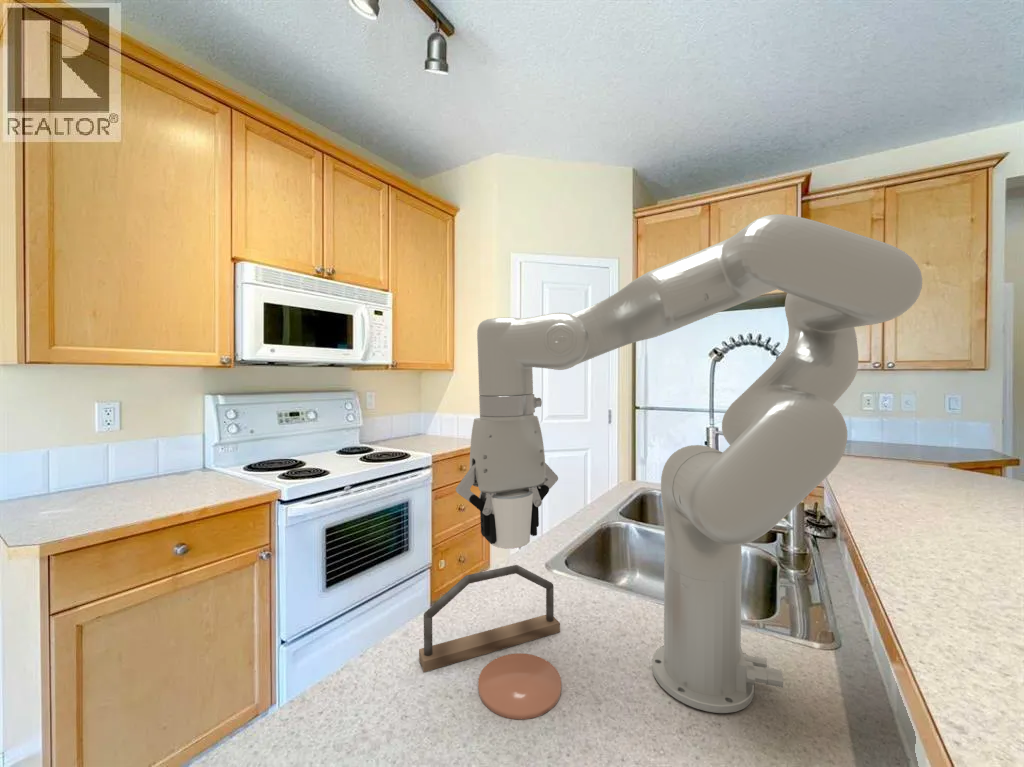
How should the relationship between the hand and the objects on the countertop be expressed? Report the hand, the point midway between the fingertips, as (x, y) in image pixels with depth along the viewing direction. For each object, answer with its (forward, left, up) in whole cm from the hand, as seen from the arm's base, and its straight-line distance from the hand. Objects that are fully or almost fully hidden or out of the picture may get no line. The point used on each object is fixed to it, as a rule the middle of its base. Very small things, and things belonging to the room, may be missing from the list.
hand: (510, 535), depth 61 cm
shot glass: (0, 0, -1) cm, 1 cm away
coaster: (-2, +3, -19) cm, 19 cm away
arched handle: (+4, -4, -19) cm, 20 cm away
